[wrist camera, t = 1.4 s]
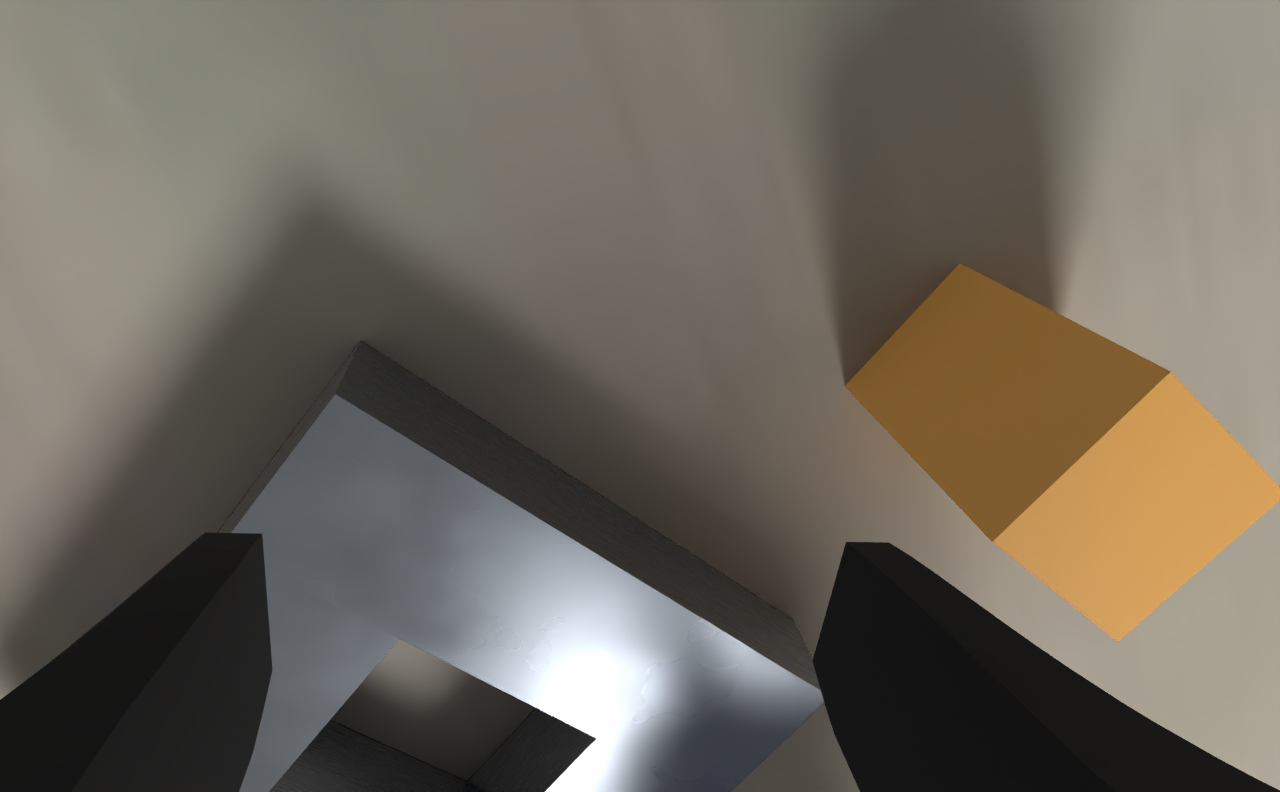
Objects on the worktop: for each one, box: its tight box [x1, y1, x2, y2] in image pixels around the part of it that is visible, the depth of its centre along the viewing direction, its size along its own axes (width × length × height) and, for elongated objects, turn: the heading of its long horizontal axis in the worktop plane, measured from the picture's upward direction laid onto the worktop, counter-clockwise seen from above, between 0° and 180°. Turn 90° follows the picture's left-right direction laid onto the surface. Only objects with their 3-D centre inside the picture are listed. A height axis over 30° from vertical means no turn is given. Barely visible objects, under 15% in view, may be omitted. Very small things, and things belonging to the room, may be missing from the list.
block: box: [845, 263, 1280, 642], centre depth 18 cm, size 4×4×7 cm
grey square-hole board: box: [217, 341, 824, 792], centre depth 21 cm, size 14×14×3 cm
